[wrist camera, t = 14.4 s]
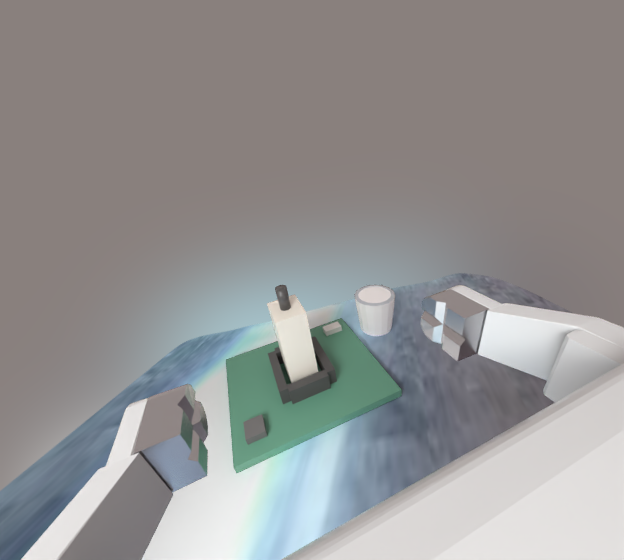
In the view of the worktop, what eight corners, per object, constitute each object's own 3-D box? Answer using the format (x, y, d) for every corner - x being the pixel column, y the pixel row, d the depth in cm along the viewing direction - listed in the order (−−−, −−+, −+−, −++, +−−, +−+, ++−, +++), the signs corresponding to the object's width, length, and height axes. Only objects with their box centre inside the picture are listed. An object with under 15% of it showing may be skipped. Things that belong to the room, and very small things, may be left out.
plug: (293, 390, 36) (269, 302, 29) (284, 366, 40) (261, 284, 33) (319, 379, 37) (302, 291, 30) (308, 357, 41) (290, 275, 34)
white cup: (401, 320, 47) (401, 288, 44) (385, 343, 43) (385, 309, 39) (367, 311, 51) (365, 281, 48) (350, 331, 47) (346, 299, 43)
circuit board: (236, 473, 28) (226, 455, 27) (228, 364, 44) (221, 348, 42) (401, 395, 34) (401, 376, 32) (341, 323, 49) (340, 307, 47)
